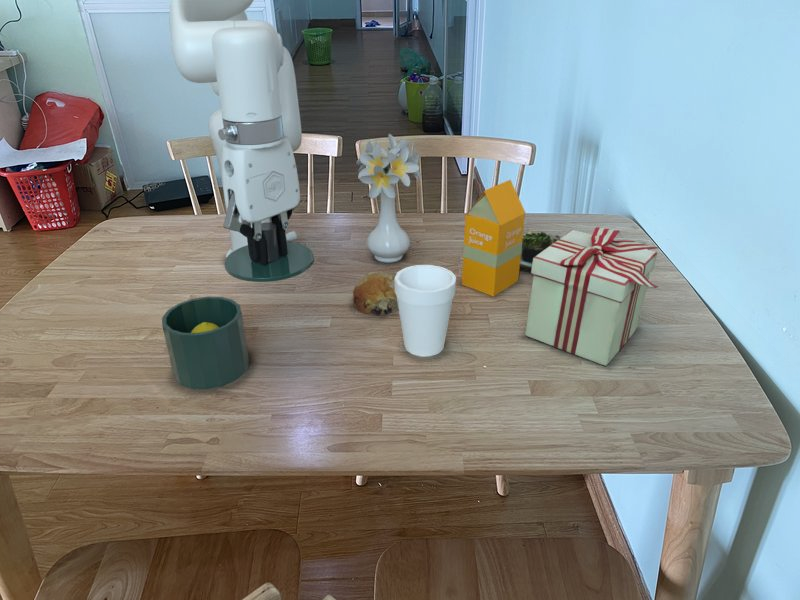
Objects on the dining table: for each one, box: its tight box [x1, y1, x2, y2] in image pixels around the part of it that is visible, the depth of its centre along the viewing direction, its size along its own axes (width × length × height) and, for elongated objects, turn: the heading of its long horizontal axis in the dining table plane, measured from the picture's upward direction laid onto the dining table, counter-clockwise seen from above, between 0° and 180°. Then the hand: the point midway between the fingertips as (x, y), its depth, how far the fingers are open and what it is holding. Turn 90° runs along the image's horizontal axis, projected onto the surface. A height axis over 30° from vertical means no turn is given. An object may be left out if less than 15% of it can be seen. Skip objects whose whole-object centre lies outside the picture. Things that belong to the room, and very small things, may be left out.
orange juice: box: [461, 179, 526, 297], centre depth 114 cm, size 8×9×20 cm
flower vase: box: [355, 133, 422, 264], centre depth 123 cm, size 13×18×25 cm
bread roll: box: [352, 271, 399, 316], centre depth 111 cm, size 10×10×8 cm
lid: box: [224, 223, 315, 283], centre depth 87 cm, size 13×13×6 cm
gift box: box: [524, 226, 660, 367], centre depth 98 cm, size 17×18×17 cm
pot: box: [161, 296, 250, 390], centre depth 91 cm, size 11×11×10 cm
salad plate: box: [519, 230, 564, 273], centre depth 130 cm, size 19×18×5 cm
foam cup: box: [394, 264, 457, 358], centre depth 96 cm, size 10×9×13 cm
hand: (269, 256), depth 88 cm, fingers closed on lid, 3 cm apart
